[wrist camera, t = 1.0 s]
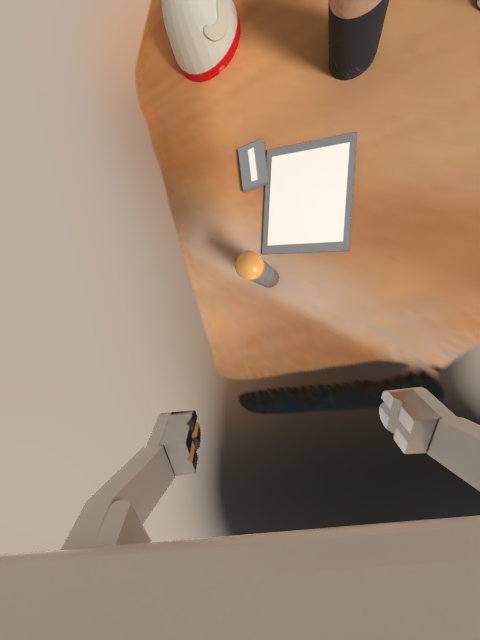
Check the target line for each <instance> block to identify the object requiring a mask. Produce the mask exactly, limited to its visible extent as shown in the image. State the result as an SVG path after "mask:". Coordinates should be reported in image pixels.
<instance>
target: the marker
mask: <svg viewBox="0 0 480 640" xmlns="http://www.w3.org/2000/svg"><path fill="white" fill-rule="evenodd" d="M235 268H236V271H237V273H238V275H239V276H240V277H242V278H244V279H247V280H249V281H253V282H255V283H258V284H260V285H262V286H265V287H273V286H275V285H276V284H277V282H278V278H279V276H278V273H277V272H276V271H275V270H274V269H273V268H272V267H271V266H270V265H268V264H267V263H266V262H265V261H264V260H263V259H262V258H261V257H260V256H259V255H258V254H257V253H255V252H253V251H246V252H243V253H242V254H241V255H239V257H238V258H237V260H236V264H235Z"/></svg>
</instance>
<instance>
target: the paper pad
mask: <svg viewBox="0 0 480 640" xmlns="http://www.w3.org/2000/svg"><path fill="white" fill-rule="evenodd" d="M356 141H357V132H355V133H350V134H345V135H340V136H335V137H330V138H325V139H320V140H315V141H310V142H305V143H300V144H295V145H290V146H285V147H280V148H275V149H270V150H267V162H266V163H267V171H268V180H269V183H267V184H265V204H264V224H263V245H262V254H287V253H312V252H337V251H349V241H350V227H351V213H352V198H353V184H354V170H355V156H356Z"/></svg>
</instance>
